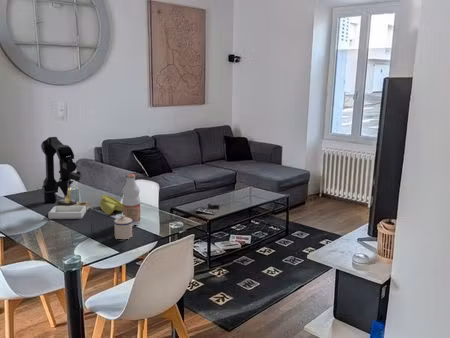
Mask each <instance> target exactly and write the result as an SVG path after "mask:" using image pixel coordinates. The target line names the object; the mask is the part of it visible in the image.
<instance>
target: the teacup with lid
mask: <svg viewBox="0 0 450 338" xmlns="http://www.w3.org/2000/svg"><path fill="white" fill-rule="evenodd" d="M113 224H114V225H113V226H114V238H115V240H117V239H128V240H130V239H131V238H130V237H132V238H133V226H132V219H131V218H127V217H125V215H123V214H122V215H121V216H120V217H118V218H116V219H114V220H113ZM129 238H130V239H129Z"/></svg>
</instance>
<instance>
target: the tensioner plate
mask: <svg viewBox="0 0 450 338" xmlns="http://www.w3.org/2000/svg"><path fill="white" fill-rule="evenodd" d="M90 204H91V203H90V201H77V200H76V199H73V198H72V199H71V198H70V203H65V202H64V199H60V200H57V201H56V205H55V206H86V212H87V211H88V210H89V208H90Z"/></svg>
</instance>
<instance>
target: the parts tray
mask: <svg viewBox="0 0 450 338" xmlns="http://www.w3.org/2000/svg"><path fill="white" fill-rule="evenodd" d="M47 213H48V214H47V215H48V220H74V219H75V220H76V219H77V220H78V219H79V220H80V219H83V217H84V216H85V215H86V213H87V211H86V206H56V205H54V206H53V207H52V209H51V210H49V211H48V212H47Z"/></svg>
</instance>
